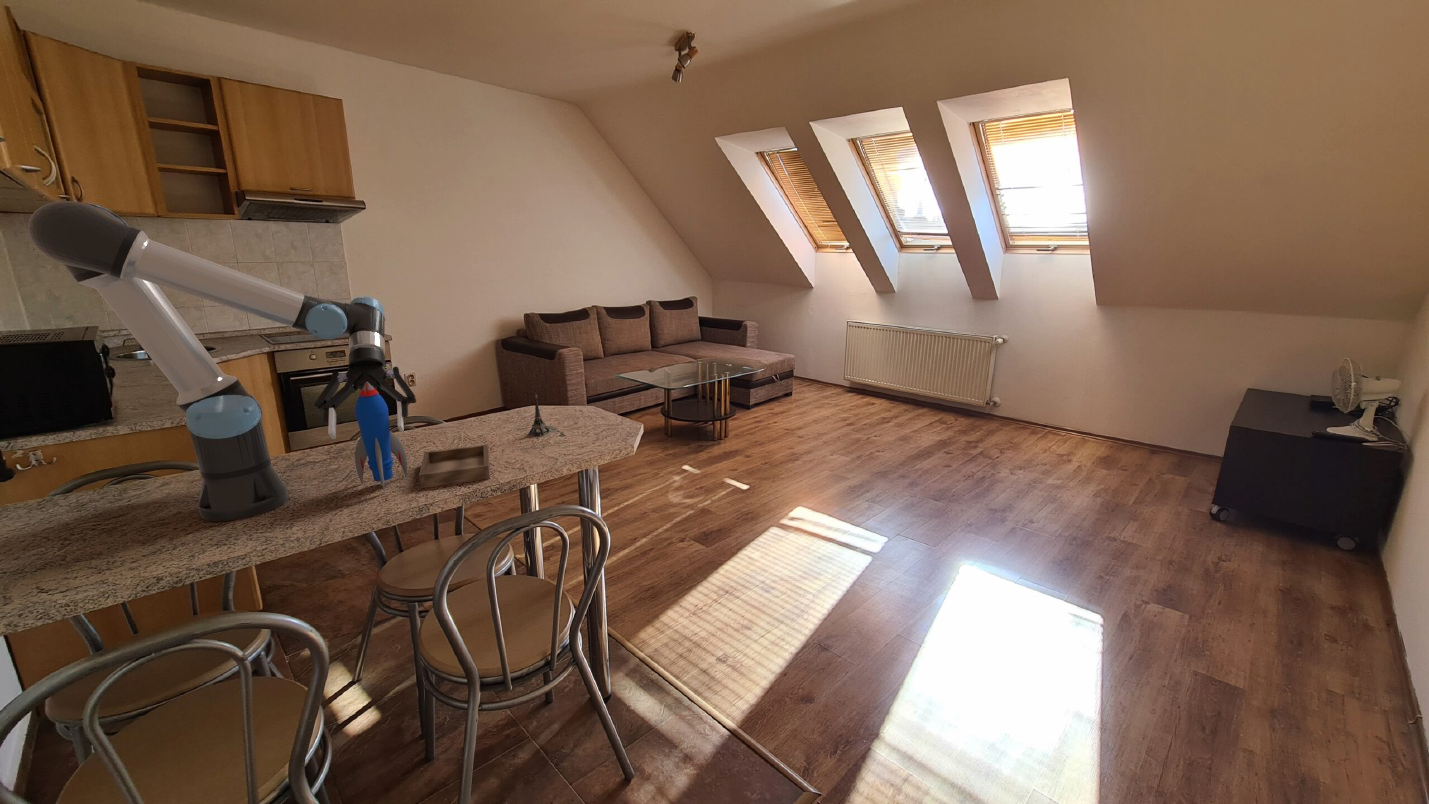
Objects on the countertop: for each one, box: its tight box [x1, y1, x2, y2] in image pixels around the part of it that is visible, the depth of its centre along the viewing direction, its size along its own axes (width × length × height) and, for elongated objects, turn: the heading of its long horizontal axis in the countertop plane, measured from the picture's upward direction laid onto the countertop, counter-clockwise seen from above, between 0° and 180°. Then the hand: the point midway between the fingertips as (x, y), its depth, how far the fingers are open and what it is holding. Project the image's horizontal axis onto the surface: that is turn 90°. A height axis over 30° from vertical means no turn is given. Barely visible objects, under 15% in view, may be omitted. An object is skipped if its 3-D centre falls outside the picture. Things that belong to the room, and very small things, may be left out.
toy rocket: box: [354, 382, 408, 494], centre depth 133 cm, size 11×10×25 cm
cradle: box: [418, 443, 491, 489], centre depth 144 cm, size 15×16×3 cm
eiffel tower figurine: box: [516, 391, 567, 438], centre depth 170 cm, size 15×10×13 cm
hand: (367, 432), depth 130 cm, fingers open, 13 cm apart
